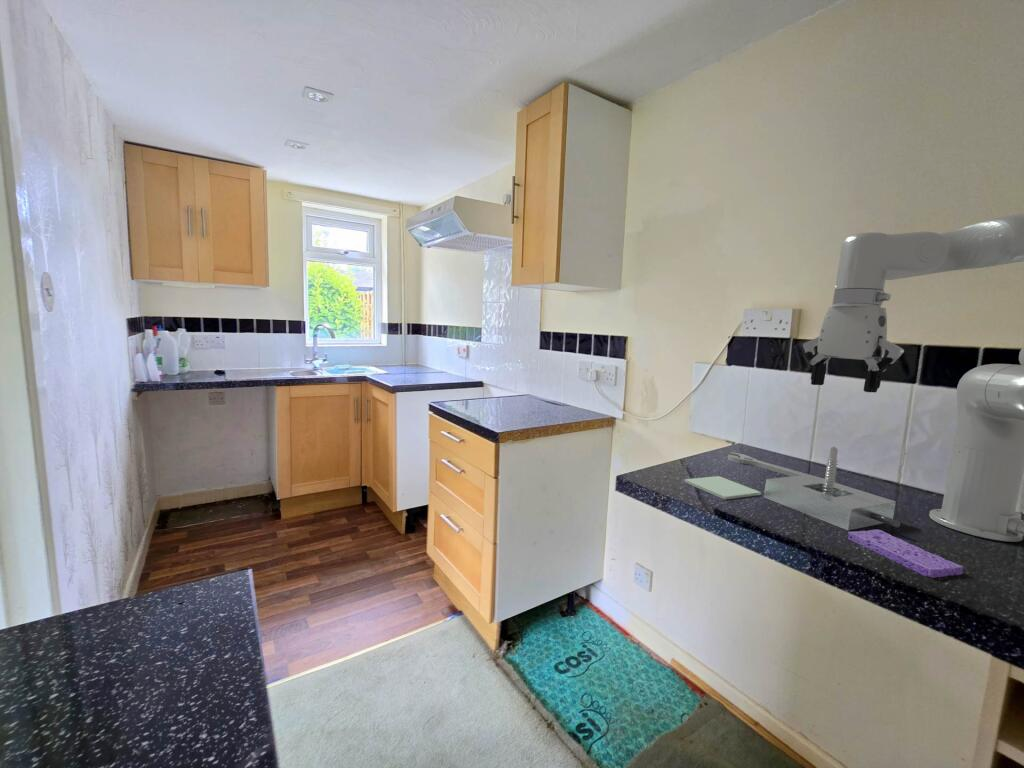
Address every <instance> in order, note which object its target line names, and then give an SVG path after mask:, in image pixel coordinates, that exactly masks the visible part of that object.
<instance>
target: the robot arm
mask: <svg viewBox="0 0 1024 768" xmlns="http://www.w3.org/2000/svg"><path fill="white" fill-rule="evenodd" d="M840 248H841V249H840V255H839V261H838V265H837V266H838V267H837V274H836V280H835V285H834V286H835V287H834V292H833V298H832V305H831V307H828V308H827V311H826V312H825V315H824V318H823V321H822V325H821V327H820V331H819V336H817V337H815V338H812V339H810V340H809V341H806V342H804V343H803V344H802V348H803V350H804V353H805V357H806V358H807V360H808V361H809V364H810V365H811V366H812V367H811V374H810V384H811V385H813V386H823V385H824V383H825V379H826V372H827V371H826V370H827V366H826V365H825V363H827V362H828V361H829V360H831V358H836V359H837V358H838V359H848V360H849V359H850V360H859V361H860V360H862V361H865V364H866V365H867V366H868V367H869V368H870V369H869V370H867V371H866V372H865V379H864V385H863V391H864V392H865V393H877V392H878V389H879V388H880V386H881V381H882V377H883V376H882V375H883V372H885V371H886V370H887V369H888V368H890V367H892V366H893V365H894V364H896V362H897V360H898V359H900V357H901V356H902V355H903V353H904V352H905V350H904V348H902V347H900V346H899V345H897V344H895V343H893V342H891V341H890V340H887V338H888V337H887V335H888V315H887V308H885V307H882V305H883V303H884V302H888V301H890V300H891V293H889V292H887V293H886V292H885V285H886V284H885V283H886V281H893V280H900V279H906V278H912V277H920V276H925V275H927V276H928V275H932V274H938V273H939V274H940V273H945V272H952V271H954V272H955V271H962V270H963V271H964V270H973V269H974V270H975V269H983V268H989V267H995V266H1002V265H1008V264H1015V263H1022V262H1024V212H1021V213H1016V214H1011V215H1004V216H1000V217H995V218H991V219H987V220H983V221H980V222H979V221H978V222H977V223H973V224H970V225H968V226H963V227H961V228H958V229H954V230H950V231H946V232H942V233H937V232H933V231H914V232H904V233H891V234H889V233H888V234H887V233H883V232H877V231H876V232H874V231H873V232H862V233H861V232H859V233H855V234H851V235H849V236H847V237H846V238H845V239H844V240H843V241H842V243H841V247H840ZM815 347H817V350H816V351H817V352H815ZM886 351H888V354H887V356H886V357H885V354H886ZM1018 361H1019V364H1011V363H990V364H983V365H978V366H976V367H974V368H972V369H970V370H968V371H967V372H965V373H964V374H963V375H962V377H961V378H960V379H959V381H958V384H957V388H956V407H957V408H956V409H957V417H956V418H957V419H956V429H955V435H954V439H953V440H954V441H953V444H952V451H951V457H950V463H949V467H948V473H947V478H946V483H945V487H944V492H943V498H942V503H941V504H942V505H941V508H933V509H931V510H930V511H929V515H928V516H929V517H930V519H932V520H933V521H934V522H936V523H938V524H940V525H942V526H944V527H947V528H948V529H949V528H950V529H952V530H955V531H957V532H961V533H965V534H968V535H971V536H975V537H979V538H984V539H988V540H993V541H999V542H1009V543H1012V542H1013V543H1018V542H1021V541H1023V540H1024V520H1023V519H1022V513H1020V512H1017V511H1016V509H1017V503H1018V501H1019V496H1020V495H1019V494H1020V490H1021V486H1022V485H1021V484H1022V481H1023V475H1024V345H1023V346H1022V348H1021V349H1020V351H1019V355H1018Z"/></svg>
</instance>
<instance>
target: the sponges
mask: <svg viewBox="0 0 1024 768" xmlns="http://www.w3.org/2000/svg"><path fill="white" fill-rule="evenodd" d="M847 539H848V540H849V541H852V542H854V543H856V544H858V545H860V546H862V547H864V548H866V549H868V550H871V551H872V552H874V553H876V554H878V555H881V556H883V557H885V558H887V559H889V560H891V561H894V562H896V563H897V564H899V565H902V566H903V567H906V568H907V569H910V570H912V571H914V572H916V573H918V574H920V575H922V576H924V577H929V578H930V579H931V578H941V577H948V576H960V575H963V566H962V565H960V564H958V563H955V562H953V561H950V560H947V559H946V558H943V557H941V556H939V555H937V554H933V553H931V552H929V551H926V550H925V549H923V548H920V547H919V546H916V545H914V544H911V543H909V542H907V541H905V540H903V539H900V538H898V537H896V536H893V535H891V534H890V533H887V532H885V531H884V530H881V529H871V530H869V529H868V530H867V531H866V530H859V531H854V530H852V531H848V538H847Z"/></svg>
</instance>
